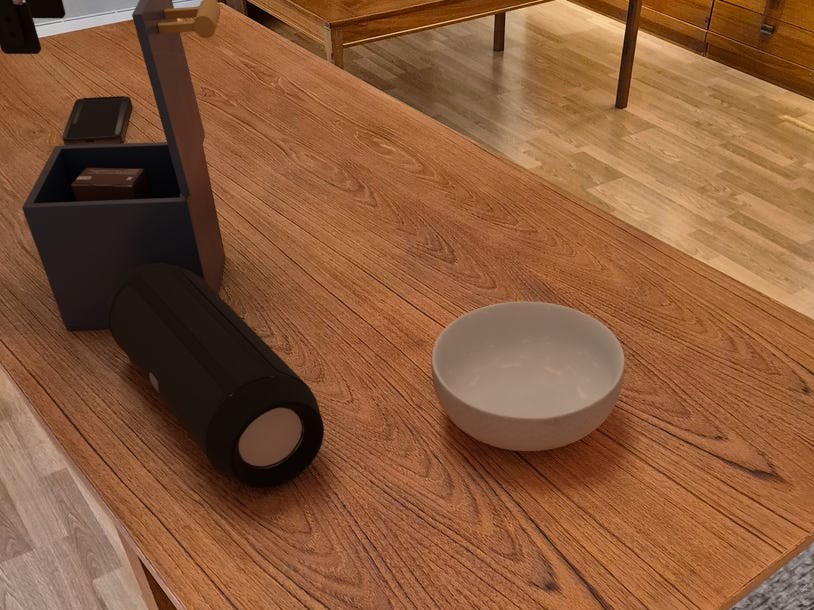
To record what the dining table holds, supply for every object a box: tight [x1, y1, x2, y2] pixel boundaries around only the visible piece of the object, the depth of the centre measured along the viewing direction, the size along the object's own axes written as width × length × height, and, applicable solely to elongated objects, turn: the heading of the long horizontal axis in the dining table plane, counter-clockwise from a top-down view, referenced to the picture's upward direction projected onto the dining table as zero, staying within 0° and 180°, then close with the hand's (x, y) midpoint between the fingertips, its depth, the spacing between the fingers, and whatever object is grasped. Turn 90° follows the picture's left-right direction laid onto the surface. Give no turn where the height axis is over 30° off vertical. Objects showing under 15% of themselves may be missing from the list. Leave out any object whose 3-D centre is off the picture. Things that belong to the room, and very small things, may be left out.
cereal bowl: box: [430, 301, 626, 452], centre depth 78 cm, size 17×17×7 cm
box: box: [72, 168, 151, 202], centre depth 90 cm, size 6×4×12 cm
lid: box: [131, 0, 221, 196], centre depth 81 cm, size 15×14×6 cm
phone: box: [61, 95, 133, 146], centre depth 126 cm, size 8×1×15 cm
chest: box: [21, 141, 226, 332], centre depth 91 cm, size 15×14×13 cm
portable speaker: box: [109, 263, 325, 490], centre depth 77 cm, size 26×10×10 cm, turn 37°
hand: (36, 34), depth 81 cm, fingers open, 9 cm apart
